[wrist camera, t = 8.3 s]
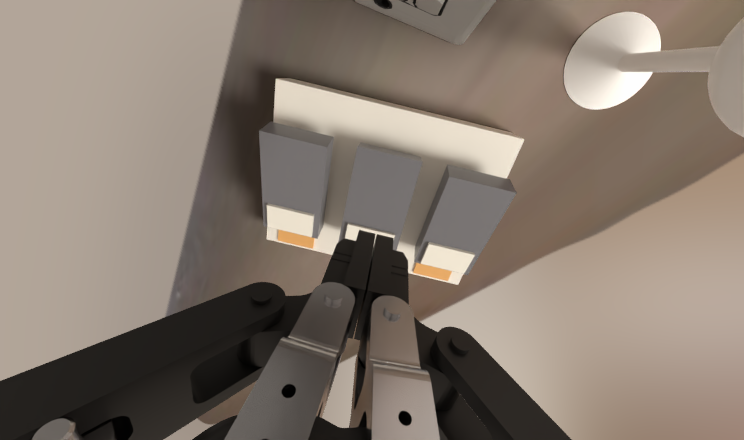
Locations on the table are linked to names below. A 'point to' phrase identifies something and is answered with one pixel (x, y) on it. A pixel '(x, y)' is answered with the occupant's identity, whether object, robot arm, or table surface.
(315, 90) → the switch panel
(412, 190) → the rocker middle
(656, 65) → the champagne flute
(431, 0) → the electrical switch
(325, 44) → the table surface
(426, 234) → the block
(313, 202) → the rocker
